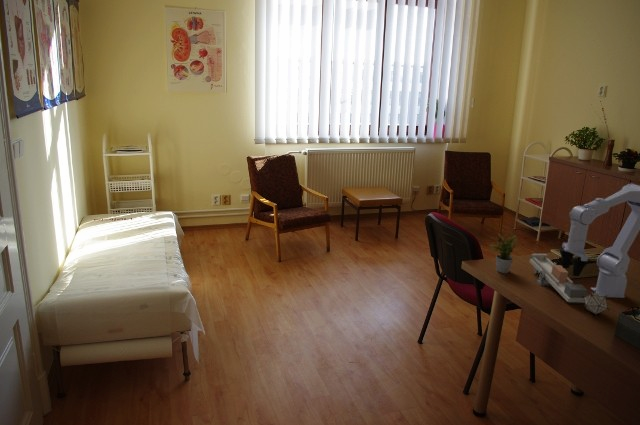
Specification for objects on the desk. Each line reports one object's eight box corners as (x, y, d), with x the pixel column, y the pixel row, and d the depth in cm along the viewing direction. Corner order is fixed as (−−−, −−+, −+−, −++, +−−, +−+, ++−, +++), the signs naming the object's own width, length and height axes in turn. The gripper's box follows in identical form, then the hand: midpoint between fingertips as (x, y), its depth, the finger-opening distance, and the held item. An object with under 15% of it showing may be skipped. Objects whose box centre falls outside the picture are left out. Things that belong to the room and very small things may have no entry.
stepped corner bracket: (589, 304, 185) (592, 292, 184) (561, 304, 184) (563, 291, 183) (549, 272, 215) (551, 261, 213) (525, 271, 214) (526, 260, 213)
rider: (565, 282, 195) (568, 272, 193) (557, 282, 195) (560, 272, 193) (558, 275, 200) (560, 265, 199) (550, 275, 200) (553, 265, 199)
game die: (597, 323, 179) (621, 309, 173) (581, 317, 176) (604, 303, 170) (587, 302, 185) (609, 288, 179) (571, 297, 182) (593, 282, 176)
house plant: (493, 261, 225) (498, 226, 220) (524, 269, 216) (530, 234, 212) (480, 269, 214) (485, 233, 210) (511, 278, 206) (518, 241, 201)
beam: (586, 302, 184) (589, 290, 183) (566, 302, 184) (569, 290, 182) (545, 262, 215) (548, 251, 213) (528, 261, 215) (531, 251, 213)
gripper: (557, 231, 191) (551, 264, 195) (577, 244, 177) (570, 279, 181) (574, 232, 192) (568, 264, 195) (596, 245, 178) (589, 279, 182)
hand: (570, 271), depth 188 cm, fingers open, 7 cm apart
